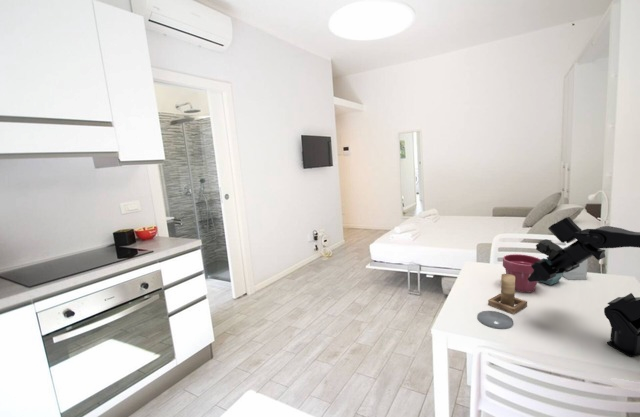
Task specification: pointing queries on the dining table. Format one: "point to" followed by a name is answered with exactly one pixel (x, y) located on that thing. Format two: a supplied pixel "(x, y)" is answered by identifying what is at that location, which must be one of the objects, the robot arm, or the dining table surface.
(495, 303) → the pocket frame
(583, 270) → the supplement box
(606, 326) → the dining table surface
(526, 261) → the plant pot
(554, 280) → the flower pot
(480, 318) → the slate coaster
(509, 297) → the oak post
